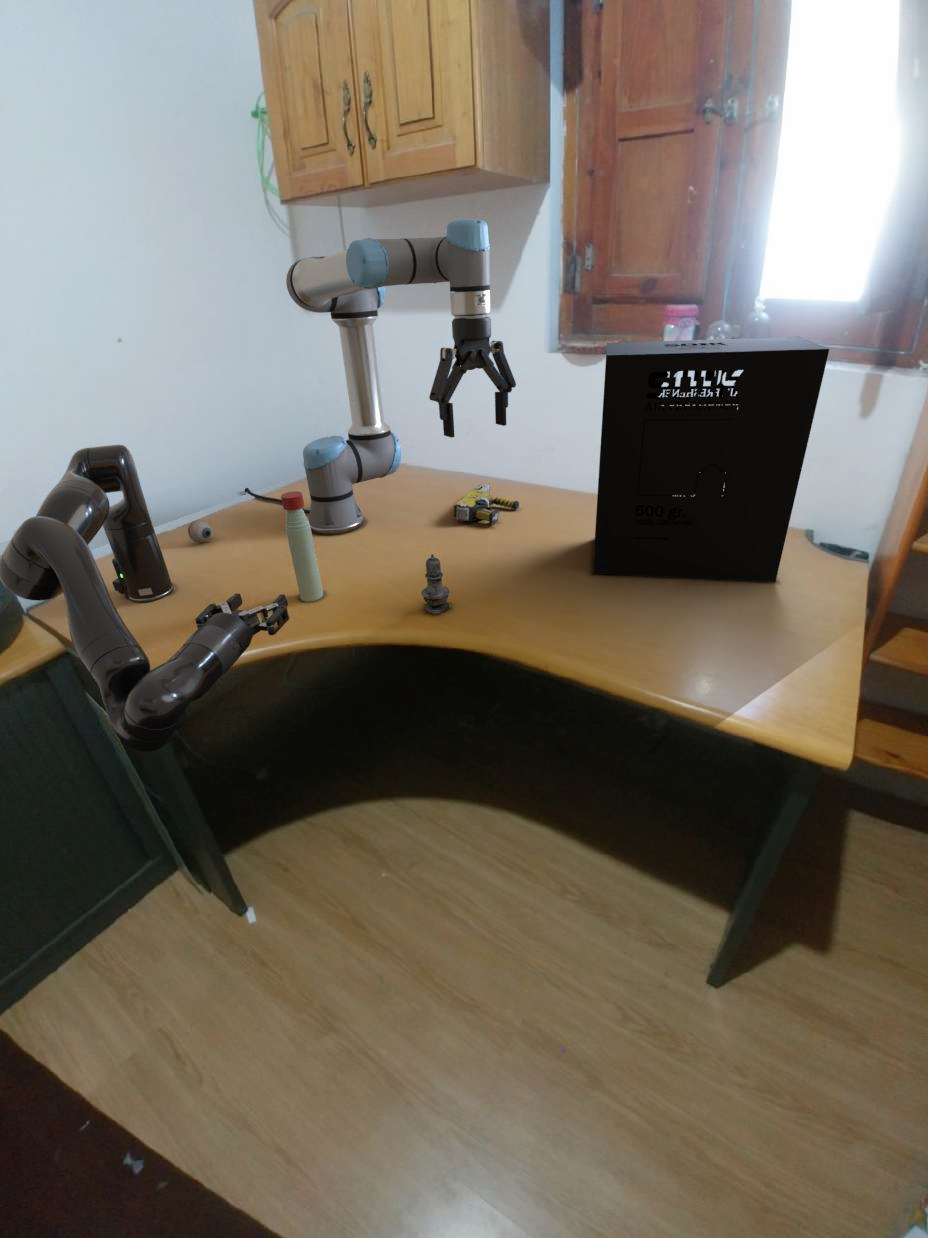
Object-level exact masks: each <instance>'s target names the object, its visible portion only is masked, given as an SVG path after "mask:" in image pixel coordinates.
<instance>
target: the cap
mask: <svg viewBox="0 0 928 1238" xmlns="http://www.w3.org/2000/svg"><path fill="white" fill-rule="evenodd" d="M280 499H281V500H282V503H281V504H282V509H283V510H284V511H287V510H297V509H301V508H303V509H304V507H305V503H304V497H303V492H301V491H298V490H297V491H295V490H294V491H288V492H284V493H282V494H280Z"/></svg>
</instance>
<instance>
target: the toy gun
mask: <svg viewBox="0 0 928 1238" xmlns="http://www.w3.org/2000/svg"><path fill="white" fill-rule="evenodd" d="M493 505H495V506H500V507H504V508H510V509H512V510H514V511H516V510H518V509H519V507H520V502H519V501H518V500H512V499H508V498H504V497H500V496H496V497H495V498H493V496H492V494H491V485H490V484H488V483H486V484H485V483H482V482H481V483H480V484H479V485H477V486H476V487H475V488H473V489H471V491H469V492H468V493H467V494H465V496H464V497H462V498H461V499H460V500H459V501H458V502H456V503H455V504H454V505H453V511H452V513H453V514H452V517H453V518H454V519H455V520H457V522H462V523H464V522H465V521H467V522H471V521H477V520H482V521H483V520H484V521H486V522H489V525H492V526H493V524H495V523H497V522H498V521H499V515H500V509H498V508H494V510H493V509H492V507H491V506H493Z"/></svg>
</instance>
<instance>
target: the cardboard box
mask: <svg viewBox="0 0 928 1238" xmlns="http://www.w3.org/2000/svg"><path fill="white" fill-rule="evenodd" d="M605 351H606V352H605V367H604V369H605V370H604V383H603V384H604V385H603V399H602V400H603V401H602V415H601V431H600V433H601V434H600V448H599V465H598V481H597V497H596V511H595V512H596V514H595V529H594V531H595V532H594V547H593V548H594V550H593V566H592V575H608V576H628V577H629V576H631V577H654V578H655V577H656V578H675V579H676V578H677V579H678V578H679V579H701V580H702V579H703V580H724V581H725V580H726V581H747V582H770V583H776V582H777V577H778V573H779V568H780V565H781V560H782V556H783V552H784V547H785V543H786V538H787V534H788V531H789V530H788V529H789V525H790V521H791V518H792V517H791V516H792V514H793V513H792V512H793V508H794V504H795V500H796V496H797V491H798V488H799V482H800V477H801V474H802V470H803V465H804V460H805V456H806V453H807V448H808V444H809V440H810V435H811V431H812V427H813V422H814V418H815V414H816V409H817V405H818V400H819V397H820V391H821V387H822V383H823V380H824V379H823V378H824V375H825V370H826V366H827V363H828V362H827V361H828V358H829V353H830V348H828V347H826V346H824V345H820V344H819V343H815V342H813V341H811V340H808V339H805V338H803V337H800V336H780V337H778V336H775V337H749V338H748V337H747V338H745V337H744V338H721V339H720V338H717V339H716V338H715V339H689V340H688V339H687V340H684V339H683V340H657V341H655V340H654V341H628V342H627V341H626V342H624V341H623V342H607V343H606V349H605ZM720 371H721V372H720ZM737 371H742V372H740V374H739V375H734V374H735V373H736V372H737ZM678 372H682V376H681V377H680V382H679V385H677V386H676V382H677V377H676V374H677V373H678ZM689 372H694V373H693V382H695V385H691V384H692V376H689ZM702 372H705V375H704V376H702V374H703V373H702ZM719 375H720V379H719ZM724 375H725V377H724ZM723 378H724V382H734V383H733V385H725V384H723ZM705 382H710V385H704V384H705ZM664 383H665V384H666V383H667V386H663V385H664Z"/></svg>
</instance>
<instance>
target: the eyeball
mask: <svg viewBox="0 0 928 1238" xmlns="http://www.w3.org/2000/svg"><path fill="white" fill-rule="evenodd" d="M187 534H188V537H189V538H190V539H191V540H192V541H193V542H196V543H198V544H199V543H201V544H202V543H207V542H208V541H209V540H211V538H212V536H213V527H212V526H211V524H210V523H209V522H207V521H205V520H201V519H197V520H193V521H192V522H191V523H190V524H189V525H188V527H187Z"/></svg>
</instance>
